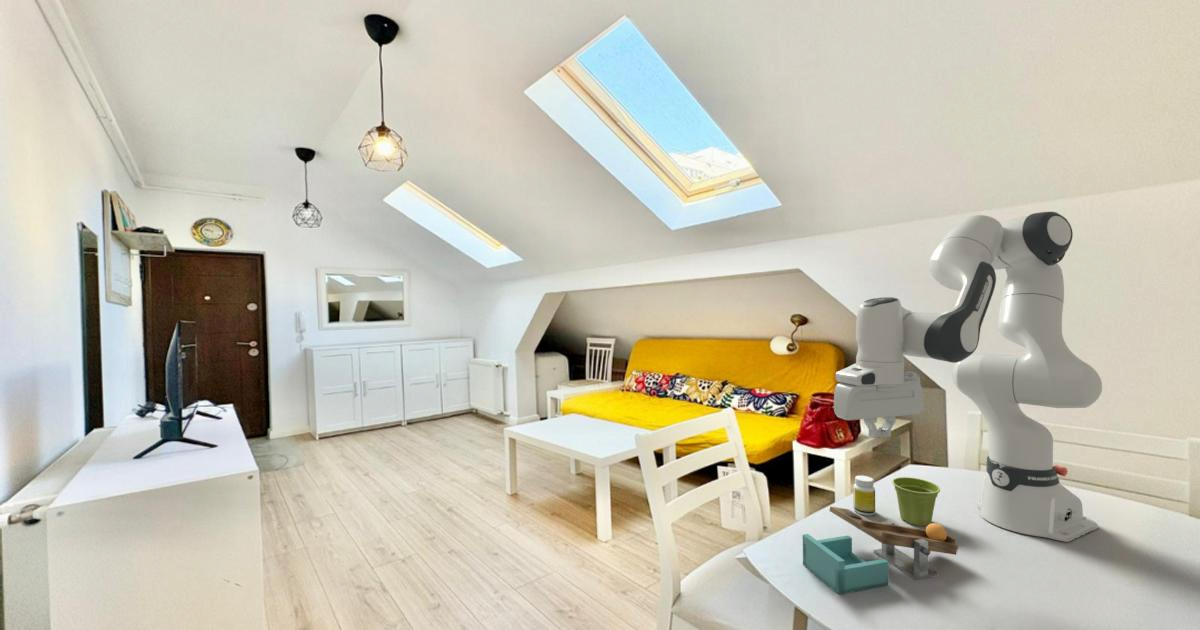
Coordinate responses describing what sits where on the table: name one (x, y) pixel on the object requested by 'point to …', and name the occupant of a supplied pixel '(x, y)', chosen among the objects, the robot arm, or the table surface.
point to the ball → (936, 532)
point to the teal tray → (843, 565)
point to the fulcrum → (908, 558)
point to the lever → (895, 533)
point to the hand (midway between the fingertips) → (879, 436)
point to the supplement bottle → (864, 495)
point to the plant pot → (916, 499)
